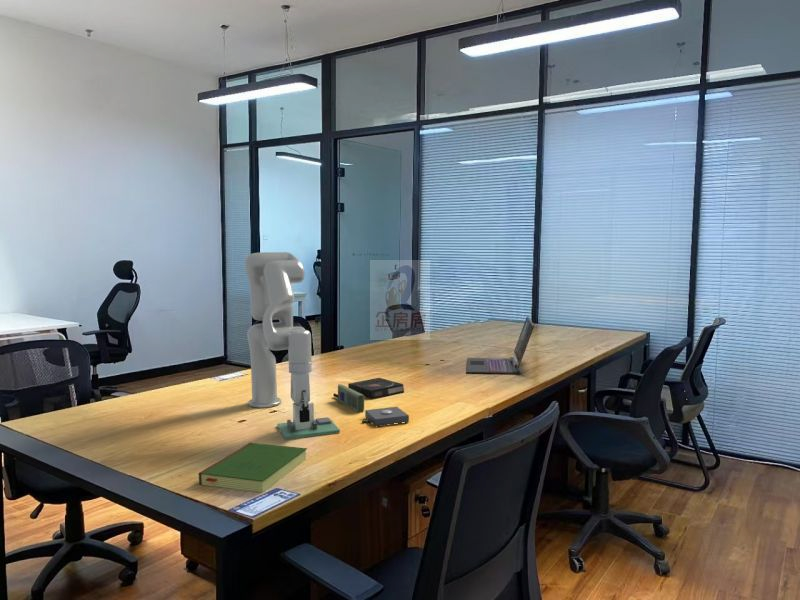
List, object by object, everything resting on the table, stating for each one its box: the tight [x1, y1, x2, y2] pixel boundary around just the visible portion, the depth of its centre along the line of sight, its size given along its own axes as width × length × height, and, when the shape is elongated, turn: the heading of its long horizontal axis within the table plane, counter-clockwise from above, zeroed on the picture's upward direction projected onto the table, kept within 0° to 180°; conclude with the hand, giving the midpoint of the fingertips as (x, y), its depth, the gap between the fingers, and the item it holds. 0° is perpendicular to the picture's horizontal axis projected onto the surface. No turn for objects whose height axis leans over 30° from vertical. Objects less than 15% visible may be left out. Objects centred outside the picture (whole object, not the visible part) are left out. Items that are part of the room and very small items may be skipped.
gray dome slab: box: [361, 406, 410, 427], centre depth 205 cm, size 12×15×3 cm
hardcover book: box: [198, 442, 308, 494], centre depth 159 cm, size 25×19×4 cm
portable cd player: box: [347, 377, 405, 400], centre depth 245 cm, size 16×17×4 cm
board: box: [277, 416, 341, 441], centre depth 196 cm, size 15×18×3 cm
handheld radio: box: [332, 383, 365, 413], centre depth 226 cm, size 7×3×25 cm
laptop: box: [466, 316, 535, 376], centre depth 292 cm, size 35×32×24 cm
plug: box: [292, 401, 315, 430], centre depth 195 cm, size 4×6×8 cm, turn 110°
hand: (301, 417), depth 195 cm, fingers open, 9 cm apart
